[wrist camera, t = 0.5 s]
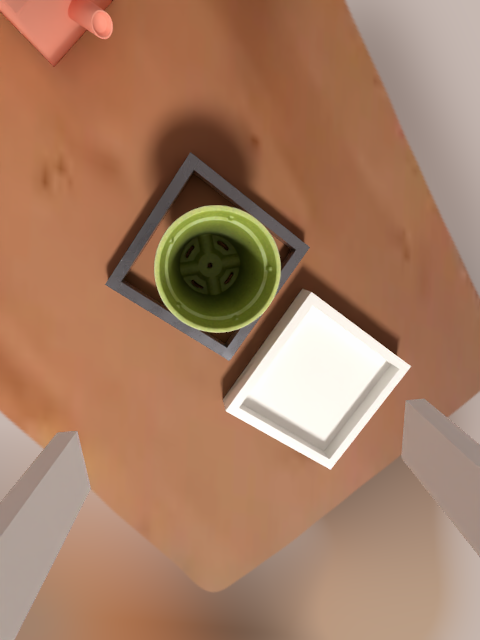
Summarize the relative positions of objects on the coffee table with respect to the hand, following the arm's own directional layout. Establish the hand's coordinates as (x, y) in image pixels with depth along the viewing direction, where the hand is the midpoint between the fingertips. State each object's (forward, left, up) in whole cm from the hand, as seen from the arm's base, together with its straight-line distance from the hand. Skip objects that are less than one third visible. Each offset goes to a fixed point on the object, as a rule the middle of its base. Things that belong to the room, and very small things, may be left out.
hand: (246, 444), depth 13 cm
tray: (-1, +14, -21) cm, 25 cm away
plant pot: (-5, -3, -22) cm, 22 cm away
